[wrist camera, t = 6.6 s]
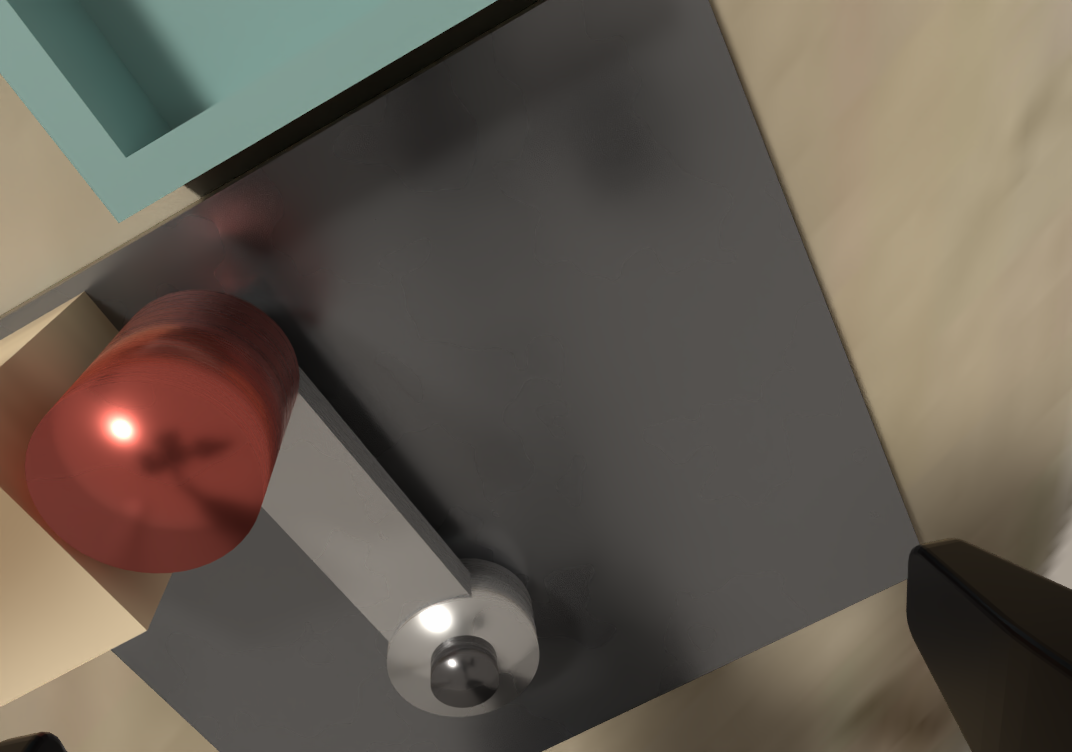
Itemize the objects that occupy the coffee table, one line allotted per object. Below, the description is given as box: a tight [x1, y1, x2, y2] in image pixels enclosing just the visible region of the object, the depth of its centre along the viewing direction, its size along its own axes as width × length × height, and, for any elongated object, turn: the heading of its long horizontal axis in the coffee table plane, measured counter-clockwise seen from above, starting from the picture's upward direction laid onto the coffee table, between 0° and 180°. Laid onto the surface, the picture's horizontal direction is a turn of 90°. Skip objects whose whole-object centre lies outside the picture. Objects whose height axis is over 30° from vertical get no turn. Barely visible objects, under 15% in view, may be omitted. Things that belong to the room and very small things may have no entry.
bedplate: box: [0, 0, 920, 752], centre depth 18 cm, size 15×17×1 cm
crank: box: [25, 290, 539, 717], centre depth 15 cm, size 11×3×5 cm, turn 31°
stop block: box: [0, 291, 172, 707], centre depth 14 cm, size 4×4×5 cm
